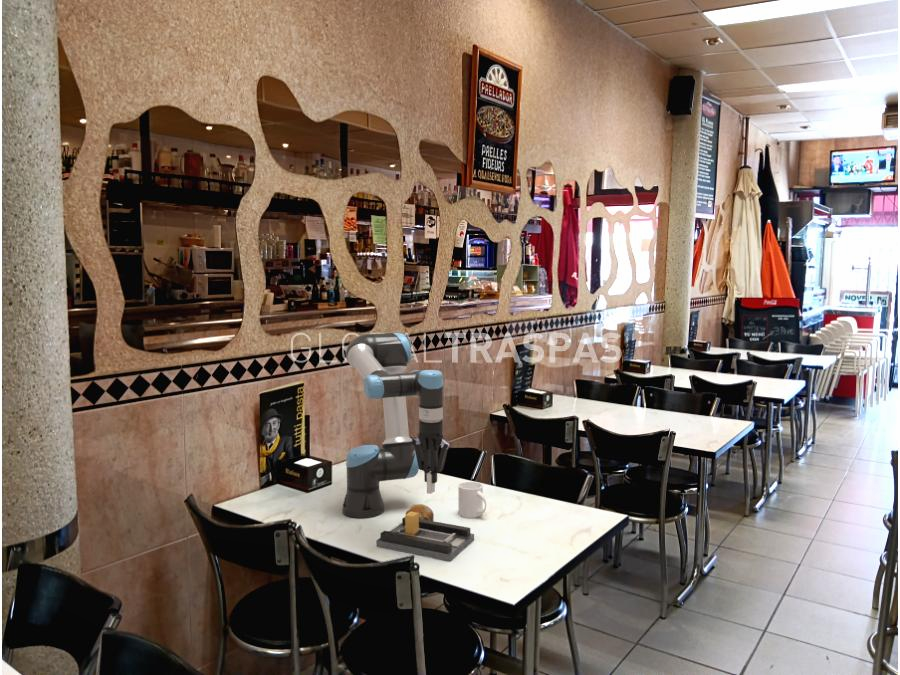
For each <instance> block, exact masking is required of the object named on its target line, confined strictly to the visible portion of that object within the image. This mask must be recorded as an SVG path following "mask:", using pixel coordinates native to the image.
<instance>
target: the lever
mask: <svg viewBox="0 0 900 675" xmlns="http://www.w3.org/2000/svg"><path fill="white" fill-rule="evenodd" d="M404 517H405V534H410V535H417V534H418V533H419V513H417V512H409V513H407V514H406V513H405V515H404Z"/></svg>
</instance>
